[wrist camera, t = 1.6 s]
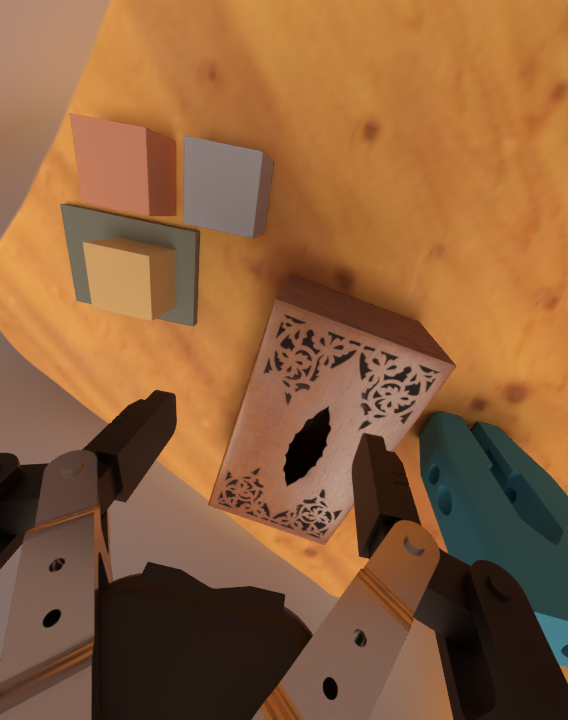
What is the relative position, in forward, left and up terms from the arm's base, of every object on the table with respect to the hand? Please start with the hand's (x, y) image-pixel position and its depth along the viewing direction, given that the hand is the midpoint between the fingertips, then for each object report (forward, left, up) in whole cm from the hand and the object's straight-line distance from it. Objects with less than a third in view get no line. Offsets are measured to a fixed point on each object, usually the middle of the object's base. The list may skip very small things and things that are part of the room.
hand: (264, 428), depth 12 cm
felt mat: (+1, -18, -21) cm, 28 cm away
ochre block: (+1, -16, -20) cm, 26 cm away
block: (+13, +23, -21) cm, 33 cm away
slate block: (-8, -8, -21) cm, 24 cm away
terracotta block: (-8, -17, -21) cm, 28 cm away
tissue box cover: (+12, +4, -21) cm, 25 cm away
